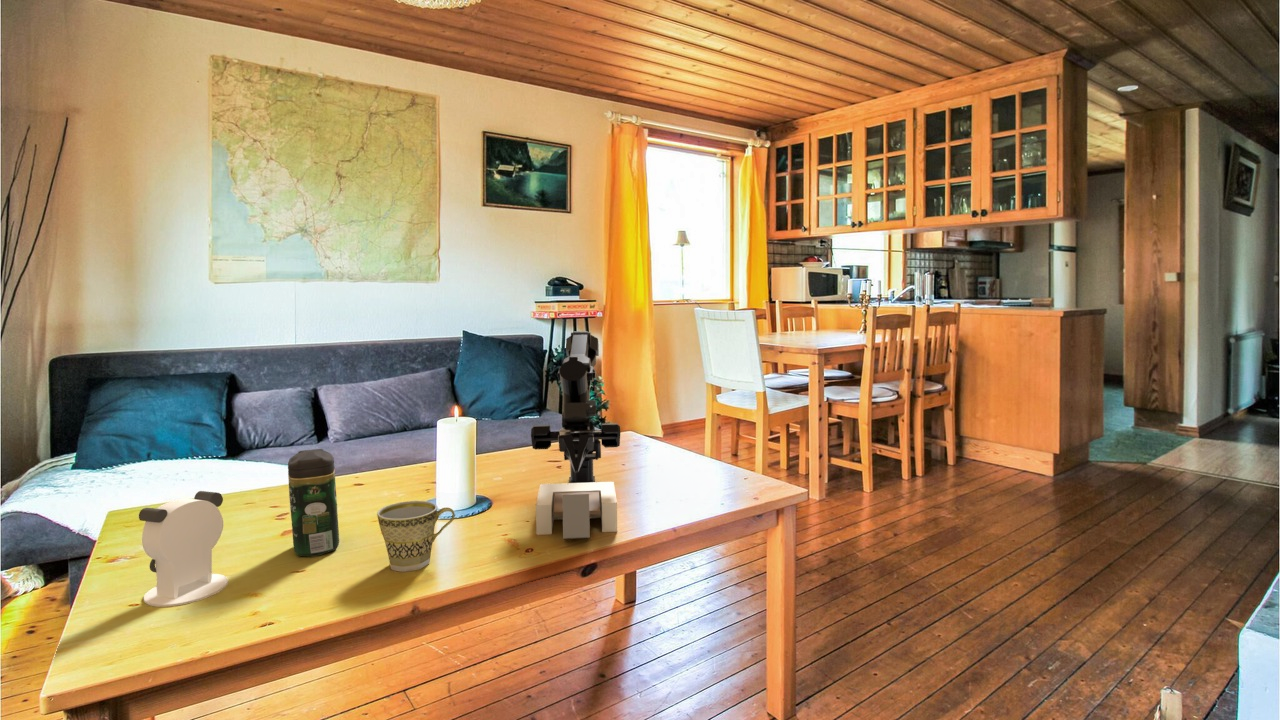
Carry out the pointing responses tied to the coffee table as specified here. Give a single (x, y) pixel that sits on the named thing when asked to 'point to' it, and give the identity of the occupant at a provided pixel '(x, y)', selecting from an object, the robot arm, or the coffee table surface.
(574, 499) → the stone
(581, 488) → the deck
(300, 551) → the coffee jar
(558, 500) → the trapdoor
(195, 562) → the panda figurine
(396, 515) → the ceramic cup
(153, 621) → the coffee table surface
